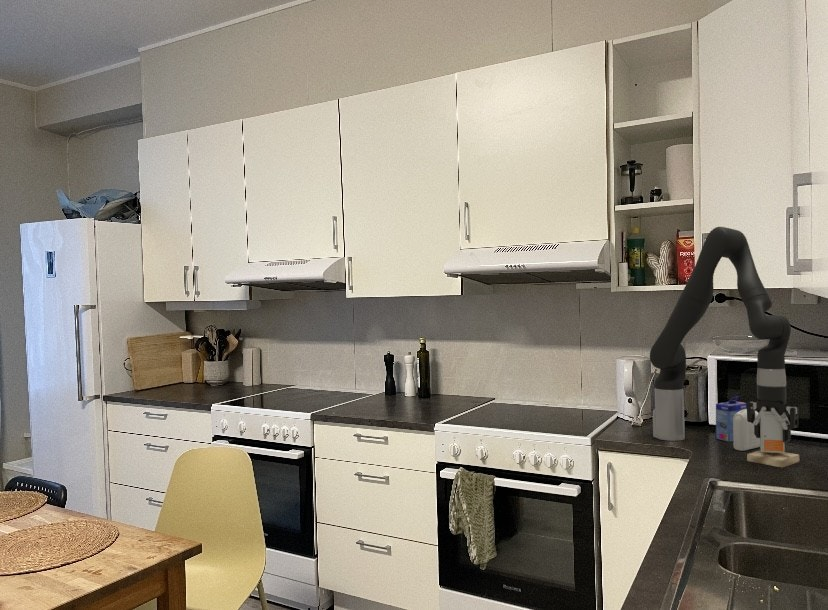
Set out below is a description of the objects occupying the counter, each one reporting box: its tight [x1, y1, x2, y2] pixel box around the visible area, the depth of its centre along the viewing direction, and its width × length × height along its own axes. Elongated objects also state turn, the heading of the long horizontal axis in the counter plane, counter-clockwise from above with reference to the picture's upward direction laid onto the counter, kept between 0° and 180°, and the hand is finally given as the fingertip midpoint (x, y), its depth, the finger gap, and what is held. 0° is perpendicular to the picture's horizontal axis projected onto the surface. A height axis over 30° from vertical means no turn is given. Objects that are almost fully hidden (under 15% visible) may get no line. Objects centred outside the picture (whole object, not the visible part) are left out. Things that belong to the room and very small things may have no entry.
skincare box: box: [759, 411, 786, 453], centre depth 192 cm, size 6×4×12 cm
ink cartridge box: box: [715, 395, 747, 443], centre depth 221 cm, size 10×6×14 cm, turn 119°
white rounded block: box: [732, 409, 760, 452], centre depth 208 cm, size 10×4×12 cm, turn 123°
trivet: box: [746, 449, 800, 468], centre depth 192 cm, size 10×10×2 cm
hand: (772, 439), depth 192 cm, fingers closed on skincare box, 7 cm apart
